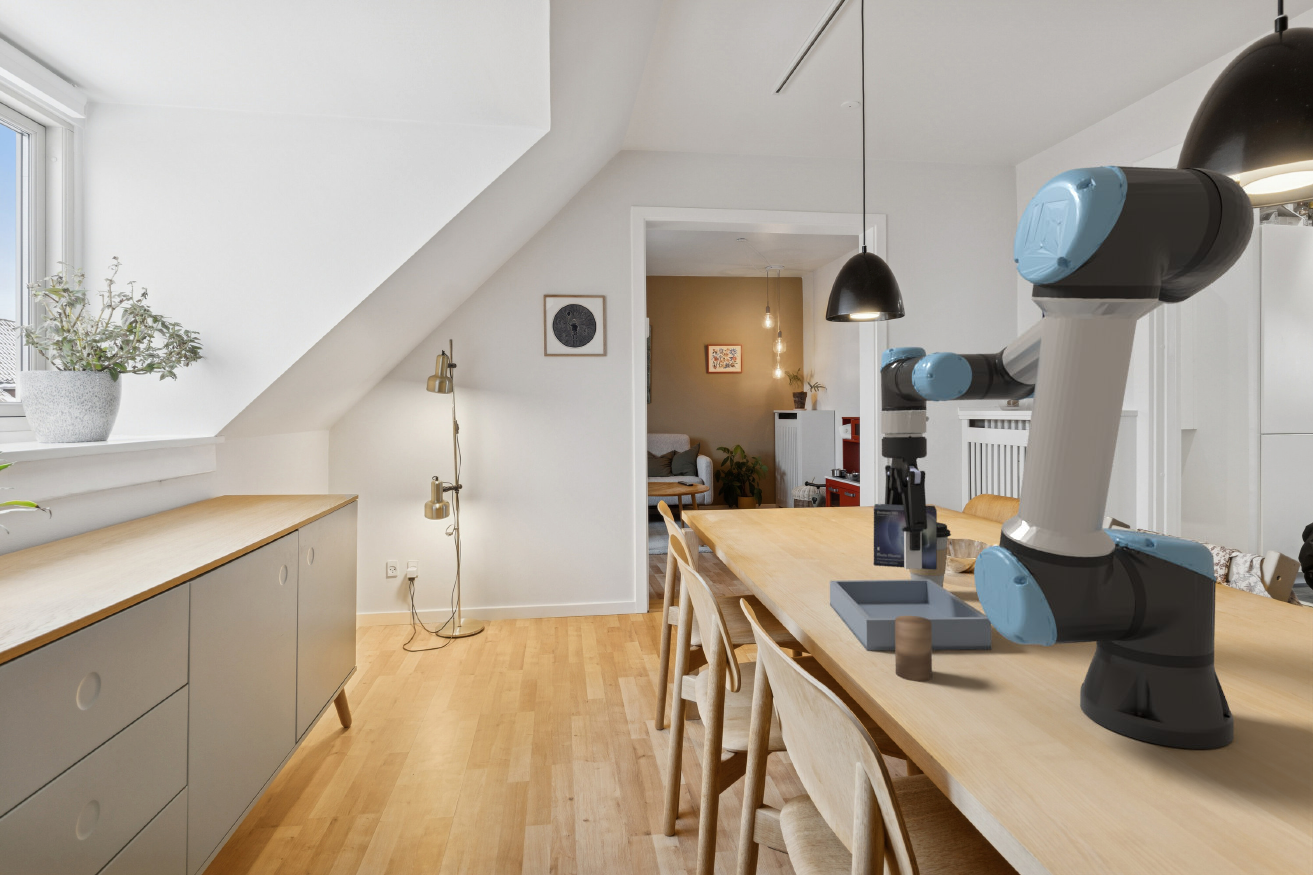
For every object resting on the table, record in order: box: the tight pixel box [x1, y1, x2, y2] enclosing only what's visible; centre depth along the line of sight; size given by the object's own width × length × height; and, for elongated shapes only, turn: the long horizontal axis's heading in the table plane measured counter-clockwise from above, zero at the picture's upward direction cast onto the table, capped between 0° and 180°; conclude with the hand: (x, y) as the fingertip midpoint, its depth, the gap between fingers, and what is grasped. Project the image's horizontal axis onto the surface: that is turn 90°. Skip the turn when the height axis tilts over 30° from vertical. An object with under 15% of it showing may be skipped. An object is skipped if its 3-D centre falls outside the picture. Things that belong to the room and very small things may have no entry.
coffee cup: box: [908, 521, 952, 588], centre depth 140 cm, size 9×9×15 cm
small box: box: [873, 503, 938, 570], centre depth 118 cm, size 11×6×10 cm, turn 70°
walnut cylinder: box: [894, 616, 933, 682], centre depth 97 cm, size 5×5×8 cm
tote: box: [829, 579, 992, 652], centre depth 120 cm, size 26×20×5 cm
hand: (904, 562), depth 118 cm, fingers closed on small box, 8 cm apart
